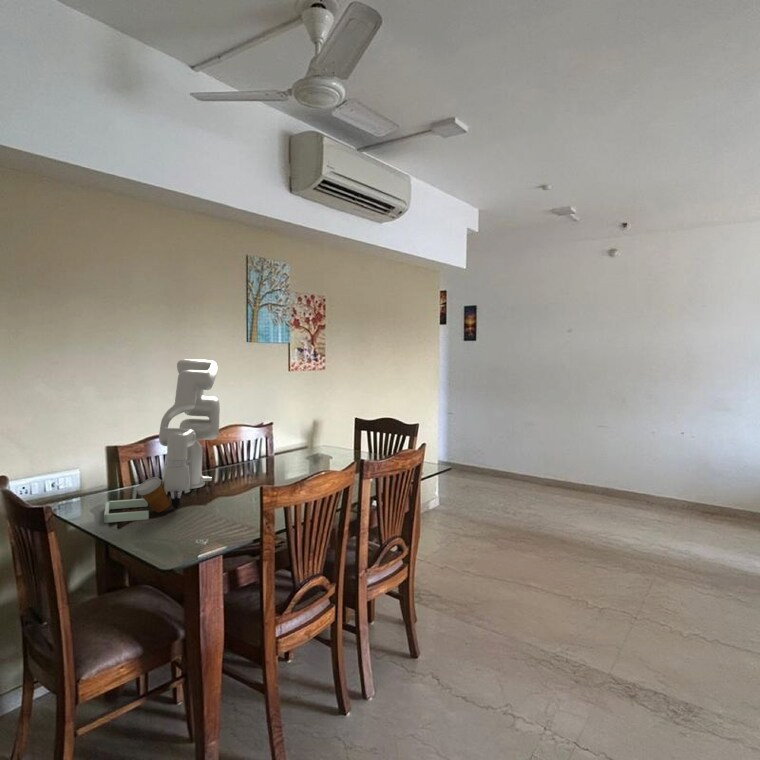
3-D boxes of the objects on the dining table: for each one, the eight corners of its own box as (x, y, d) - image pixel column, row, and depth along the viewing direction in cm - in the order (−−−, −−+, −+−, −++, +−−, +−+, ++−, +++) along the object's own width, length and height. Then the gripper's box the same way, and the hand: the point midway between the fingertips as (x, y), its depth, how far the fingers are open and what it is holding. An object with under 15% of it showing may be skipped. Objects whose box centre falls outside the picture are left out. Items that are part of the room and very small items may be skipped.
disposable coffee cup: (149, 518, 206) (133, 495, 201) (154, 505, 214) (138, 482, 210) (172, 508, 206) (156, 484, 202) (175, 495, 215) (161, 472, 211)
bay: (147, 505, 216) (147, 498, 215) (148, 519, 201) (148, 511, 201) (106, 508, 209) (106, 501, 209) (103, 522, 194) (104, 515, 194)
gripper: (195, 459, 217) (193, 502, 219) (156, 461, 211) (155, 505, 212) (197, 464, 211) (195, 508, 212) (157, 466, 204) (155, 511, 206)
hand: (175, 506), depth 212 cm, fingers closed
